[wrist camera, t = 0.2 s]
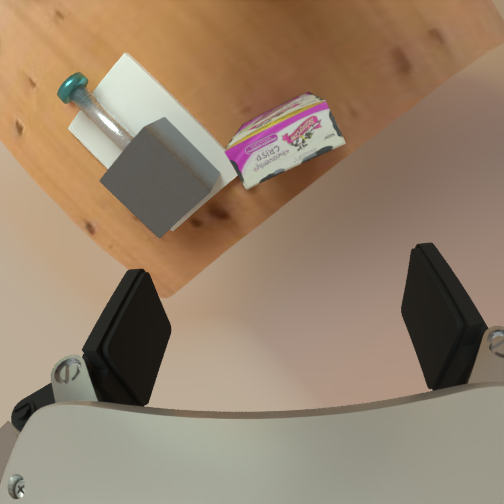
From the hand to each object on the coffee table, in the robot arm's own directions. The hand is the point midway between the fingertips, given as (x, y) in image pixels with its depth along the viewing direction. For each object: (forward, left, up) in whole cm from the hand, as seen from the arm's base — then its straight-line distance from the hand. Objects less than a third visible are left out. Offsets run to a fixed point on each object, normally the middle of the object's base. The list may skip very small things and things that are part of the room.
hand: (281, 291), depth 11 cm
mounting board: (-11, -16, -37) cm, 42 cm away
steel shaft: (-15, -16, -34) cm, 41 cm away
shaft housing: (-6, -16, -36) cm, 40 cm away
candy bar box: (0, +1, -37) cm, 37 cm away
